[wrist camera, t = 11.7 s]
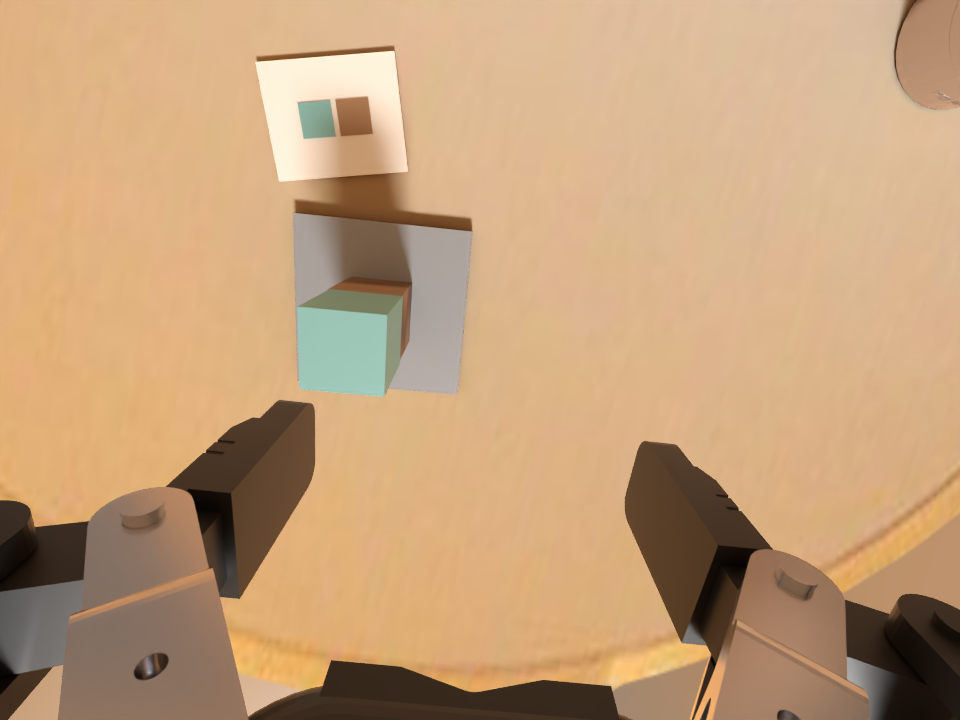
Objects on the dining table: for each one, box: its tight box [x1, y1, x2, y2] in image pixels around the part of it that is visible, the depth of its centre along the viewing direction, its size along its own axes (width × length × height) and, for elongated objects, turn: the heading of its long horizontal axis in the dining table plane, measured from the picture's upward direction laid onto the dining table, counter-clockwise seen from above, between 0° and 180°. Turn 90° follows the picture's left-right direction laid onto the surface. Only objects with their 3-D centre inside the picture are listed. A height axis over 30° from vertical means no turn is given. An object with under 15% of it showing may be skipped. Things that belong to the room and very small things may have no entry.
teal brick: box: [297, 289, 403, 397], centre depth 29 cm, size 5×5×6 cm
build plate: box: [293, 213, 472, 395], centre depth 38 cm, size 14×14×1 cm
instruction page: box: [255, 51, 408, 182], centre depth 33 cm, size 8×10×1 cm
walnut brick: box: [328, 277, 412, 359], centre depth 34 cm, size 5×5×6 cm
